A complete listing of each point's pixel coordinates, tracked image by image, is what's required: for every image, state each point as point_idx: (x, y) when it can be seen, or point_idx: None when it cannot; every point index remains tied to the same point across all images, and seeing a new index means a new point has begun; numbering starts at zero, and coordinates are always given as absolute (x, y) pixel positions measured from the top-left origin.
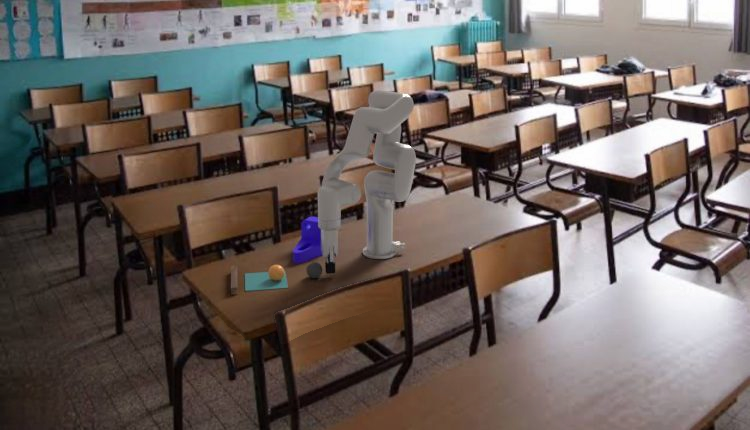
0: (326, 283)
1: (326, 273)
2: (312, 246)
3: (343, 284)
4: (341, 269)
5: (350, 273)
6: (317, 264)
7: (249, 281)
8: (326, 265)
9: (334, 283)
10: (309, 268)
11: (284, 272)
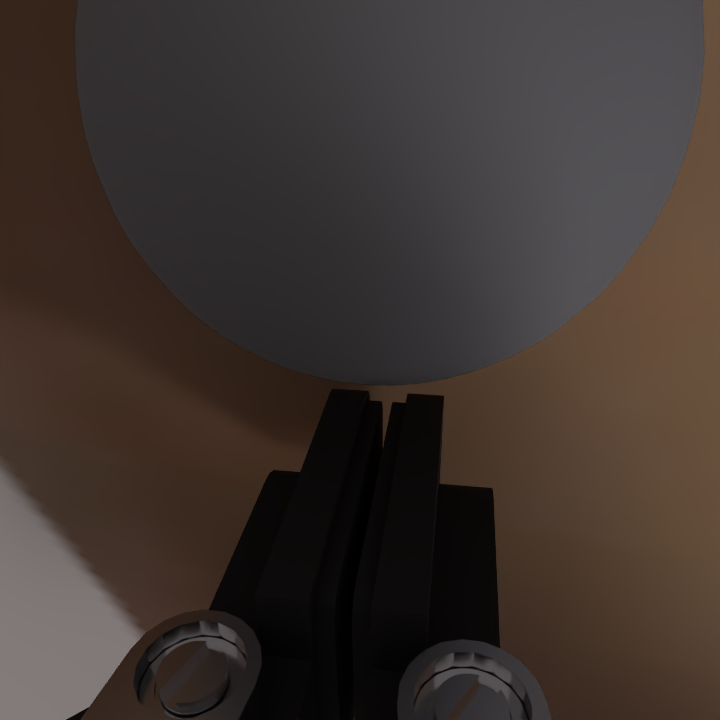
0: (87, 299)
1: (330, 392)
2: None
3: (66, 534)
4: (674, 634)
5: None
6: (235, 289)
7: None
8: (283, 542)
9: (95, 426)
10: None
11: None
